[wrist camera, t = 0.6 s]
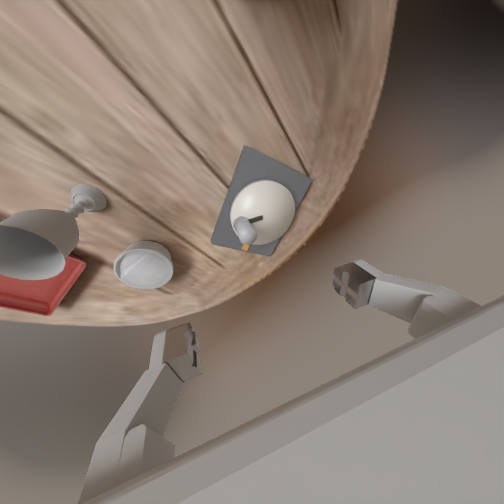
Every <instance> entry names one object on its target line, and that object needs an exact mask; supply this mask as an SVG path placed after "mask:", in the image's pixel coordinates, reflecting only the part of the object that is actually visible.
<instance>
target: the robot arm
mask: <svg viewBox="0 0 504 504" xmlns="http://www.w3.org/2000/svg"><path fill="white" fill-rule="evenodd" d="M334 275H335V277H334V279H333V287H334V289H335V290H336V292H337V293H338V294H339V295H341V296H344V297H345V300H346V301H347V302H348V303H349V304H350V305H351V306H352V307H353V308H354V309H357V308H359V307H362V306H364V305H367V304H369V305H370V306H372V307H374V308H377V309H379V310H381V311H384V312H386V313H388V314H390V315H393V316H395V317H397V318H400V319H402V320H404V321H407V322H409V323H411V324H410V326H409V328H408V333H409V334H410V335H411V336H412V337H414V338H415V339H414V340H412V341H410V342H408V343H406V344H404V345H402V346H400V347H398V348H396V349H394V350H392V351H390V352H388V353H386V354H384V355H382V356H379V357H378V358H375V359H373V360H372V361H370V362H367V363H365V364H363V365H362V366H359V367H357V368H355V369H353V370H351V371H349V372H347V373H345V374H343V375H341V376H339V377H337V378H335V379H333V380H331V381H329V382H327V383H325V384H323V385H321V386H319V387H317V388H315V389H313V390H311V391H309V392H307V393H305V394H303V395H301V396H299V397H296V398H295V399H293V400H290V401H288V402H286V403H284V404H282V405H280V406H278V407H276V408H275V409H272V410H270V411H268V412H266V413H264V414H262V415H260V416H258V417H256V418H254V419H252V420H250V421H248V422H246V423H244V424H242V425H240V426H238V427H236V428H234V429H232V430H230V431H228V432H226V433H224V434H222V435H220V436H218V437H216V438H214V439H212V440H210V441H207V442H206V443H203V444H201V445H199V446H198V447H196V448H193V449H191V450H189V451H187V452H185V453H183V454H181V455H179V456H177V457H175V458H174V453H175V452H174V451H175V446H174V444H173V443H171V442H170V441H168V440H167V439H165V438H164V437H162V436H163V433H164V431H165V428H166V426H167V423H168V421H169V419H170V416H171V414H172V411H173V409H174V407H175V404H176V402H177V399H178V396H179V394H180V392H181V389H182V387H183V383H184V382H186V381H188V380H190V379H193V378H195V377H197V376H199V375H201V374H202V369H201V360H200V358H199V356H198V354H199V352H200V345H199V340H198V337H197V335H196V333H195V332H193V331H192V326H191V324H190V323H189V322H188V323H185V324H182V325H179V326H177V327H173V328H170V329H168V330H165V331H162V332H160V333H157V334H156V335H155V337H154V341H153V348H152V354H151V360H150V366H149V370H146V371H145V372H144V374H143V375H142V377H141V378H140V380H139V381H138V382H137V384H136V385H135V387H134V389H133V390H132V392H131V393H130V394H129V396H128V397H127V399H126V400H125V402H124V403H123V405H122V406H121V408H120V409H119V411H118V412H117V413H116V415H115V416H114V418H113V420H112V421H111V422H110V424H109V425H108V427H107V428H106V430H105V431H104V433H103V434H102V436H101V437H100V439H99V440H98V442H97V443H96V446H95V449H94V453H93V456H92V459H91V463H90V466H89V469H88V473H87V476H86V479H85V483H84V486H83V489H82V493H81V496H80V499H79V503H78V504H504V295H503V296H501V297H499V298H497V299H495V300H493V301H491V302H489V303H487V304H485V305H483V306H480V305H479V304H477V303H475V302H473V301H471V300H469V299H467V298H466V297H464V296H462V295H460V294H458V293H456V292H454V291H453V290H450V289H449V288H447V287H443V286H439V285H434V284H430V283H425V282H421V281H417V280H412V279H408V278H404V277H399V276H395V275H391V274H387V275H385V274H383V273H382V272H380V271H379V270H377V269H376V268H374V267H372V266H371V265H369V264H368V263H366V262H364V261H363V260H360V259H358V260H355V261H352V262H350V263H347V264H344V265H342V266H339V267H337V268H335V269H334Z"/></svg>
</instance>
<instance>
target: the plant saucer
mask: <svg viewBox="0 0 504 504" xmlns="http://www.w3.org/2000/svg"><path fill="white" fill-rule="evenodd" d="M65 263H66V264H65V266H64V269H63V271H62V272H60V273H59V274H58V275H57V276H54V277H51V278H48V279H41V280H24V279H17V278H12V277H7V276H4V275H1V274H0V307H2V308H7V309H13V310H18V311H23V312H28V313H33V314H39V315H44V316H50V315H52V313H53V312H54V310H55V309H56V308H57V306H58V305H59V303H60V302H61V301H62V299H63V298H64V296H65V295H66V294H67V292H68V291H69V290H70V288H71V287H72V285H73V284H74V283H75V281H76V280H77V278H78V277H79V276H80V274H81V273H82V272H83V270H84V269H85V267H86V263H85V262H84V261H83V260H82V259H80V258H78V257H76V256H74V255H71V254H69V255H68V256H67V258H66V259H65Z"/></svg>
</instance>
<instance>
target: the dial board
mask: <svg viewBox="0 0 504 504" xmlns="http://www.w3.org/2000/svg"><path fill="white" fill-rule="evenodd" d="M261 179H270V180H274V181H276V182H278V183H280V184H281V185H283V186H284V187H286V188H287V189H288V190H289V191H290V193H291V194H292V196H293V199H294V202H295V211H296V209H297V207H298V205H299V204H300V202H301V200H302V198H303V196H304V195H305V193H306V191H307V189H308V187H309V185H310V184H311V182H312V180H313V179H311V178H309V177H307V176H305V175H303V174H301V173H299V172H297V171H295V170H293V169H291V168H289V167H287V166H285V165H283V164H281V163H279V162H277V161H275V160H273V159H271V158H269V157H267V156H265V155H263V154H261V153H259V152H257V151H255V150H253V149H252V148H250V147H248V146H245V145H244V147H243V150H242V153H241V156H240V159H239V161H238V164H237V167H236V170H235V173H234V176H233V178H232V181H231V184H230V187H229V190H228V192H227V195H226V198H225V201H224V204H223V207H222V209H221V212H220V215H219V218H218V221H217V223H216V226H215V229H214V232H213V235H212V238H211V243H212V244H214V245H219V246H223V247H228V248H233V249H238V250H243V251H248V252H252V253H257V254H262V255H267V256H271V254H272V252H273V251H274V249H275V247H276V245H277V243H278V242H279V240H280V238H281V237H279V238H278V239H276V240H275V241H273V242H270V243H267V244H263V245H253V244H250V245H244V244H242V243H241V241H240V239H239V237H238V236H237V235H236V233H235V231H234V229H233V227H232V225H231V222H230V208H231V204H232V201H233V199H234V197H235V196H236V194H237V193H238V192H239V191H240V190H241V189H242V188H243V187H244V186H246V185H247V184H249V183H251V182H253V181H256V180H261Z"/></svg>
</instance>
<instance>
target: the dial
mask: <svg viewBox="0 0 504 504" xmlns="http://www.w3.org/2000/svg"><path fill="white" fill-rule="evenodd" d="M294 213H295V202H294V199H293V196H292V194H291V193H290V191H289V190H288V189H287V188H286V187H284V186H283V185H281V184H280V183H278V182H276V181H274V180H270V179H261V180H256V181H253V182H251V183H249V184H247V185H246V186H244V187H243V188H242V189H241V190H240V191H239V192H238V193H237V194H236V196H235V197H234V199H233V201H232V204H231V208H230V222H231V225H232V227H233V229H234V231H235V233H236V235H237V236H238V237H239V239H240V241H241V243H242V244H244V245H250V244H253V245H263V244H267V243H270V242H273V241H275V240H276V239H278V238H279V237H281V236H282V235H283V234H284V233H285V232H286V231H287V229H288V228H289V226H290V225H291V223H292V220H293V218H294Z"/></svg>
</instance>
